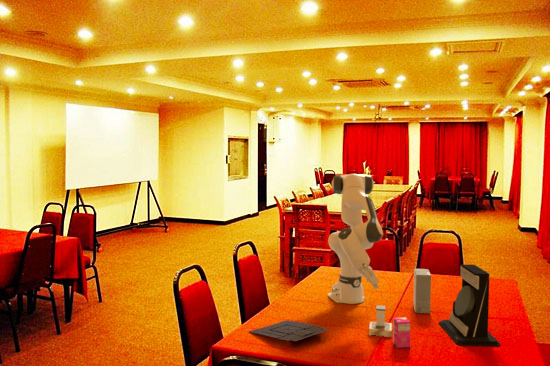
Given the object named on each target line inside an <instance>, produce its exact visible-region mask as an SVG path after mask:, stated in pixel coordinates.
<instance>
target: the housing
mask: <svg viewBox="0 0 550 366" xmlns="http://www.w3.org/2000/svg"><path fill="white" fill-rule="evenodd" d="M375 310H376V320H375V322H376V327H381V328H385V323H386V319H385V318H386V317H385V316H386V305H378V304H377V305H376V308H375Z"/></svg>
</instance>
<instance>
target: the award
mask: <svg viewBox="0 0 550 366" xmlns="http://www.w3.org/2000/svg"><path fill="white" fill-rule="evenodd" d="M459 278H461V289H460V290H459V291H458V293H457V296H456V299H455V301H453V302H452V311H451V312H450V315H449V319H442V320H440V321H438V325H439V326H440V327H441V328H442V330H443V331H445V332H446V334H447V335H448V337H450V339H452V340H453V342H454V343H455V344H456V345H458V346H462V347H500V346H501V342H499V341H498V339H497V338H496V337H494V335H492V334H491V333H490V332H489V304H490V303H489V300H490V299H489V298H490V273H489V272H488V271H486V270H484V269H482V268H480V267H479V265H475V264H464V263H463V264H461V265H460V277H459Z"/></svg>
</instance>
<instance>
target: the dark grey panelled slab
mask: <svg viewBox="0 0 550 366" xmlns="http://www.w3.org/2000/svg"><path fill="white" fill-rule="evenodd" d="M327 331H329V328H328V329H326V327H324V326H319V325H316V324H313V323H307V322H301V321H294V320H288V319H287V320H283V321H280V322H276V323H274V324H270V325H267V326H264V327H259V328H256V329H251V330H249V331H248V332H249V333H252V334H259V335H261V336H267V337H271V338H274V339H277V340H282V341H283V340H285V341H293V342H297V341H300V340H303V339H306V338H309V337H312V336H315V335H318V334H321V333H324V332H327Z"/></svg>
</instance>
